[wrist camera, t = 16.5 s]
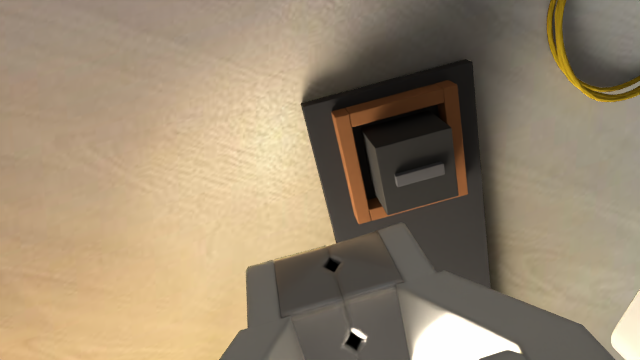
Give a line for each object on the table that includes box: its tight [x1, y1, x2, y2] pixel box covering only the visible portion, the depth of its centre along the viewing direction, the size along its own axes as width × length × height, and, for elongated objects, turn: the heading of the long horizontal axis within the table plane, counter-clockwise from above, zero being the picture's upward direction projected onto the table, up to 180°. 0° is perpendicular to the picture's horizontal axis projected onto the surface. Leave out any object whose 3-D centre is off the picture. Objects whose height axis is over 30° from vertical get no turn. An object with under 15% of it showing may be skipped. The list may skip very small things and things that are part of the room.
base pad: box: [301, 59, 491, 289], centre depth 38 cm, size 32×12×2 cm, turn 13°
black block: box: [361, 110, 459, 215], centre depth 32 cm, size 5×5×4 cm
